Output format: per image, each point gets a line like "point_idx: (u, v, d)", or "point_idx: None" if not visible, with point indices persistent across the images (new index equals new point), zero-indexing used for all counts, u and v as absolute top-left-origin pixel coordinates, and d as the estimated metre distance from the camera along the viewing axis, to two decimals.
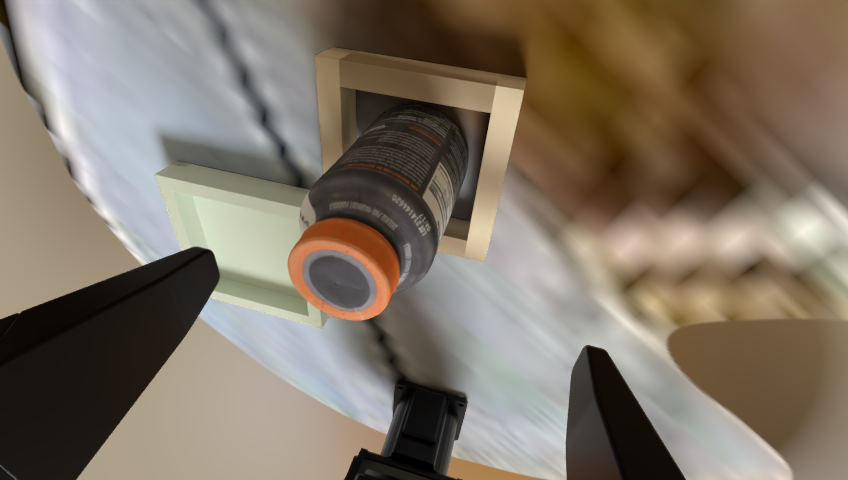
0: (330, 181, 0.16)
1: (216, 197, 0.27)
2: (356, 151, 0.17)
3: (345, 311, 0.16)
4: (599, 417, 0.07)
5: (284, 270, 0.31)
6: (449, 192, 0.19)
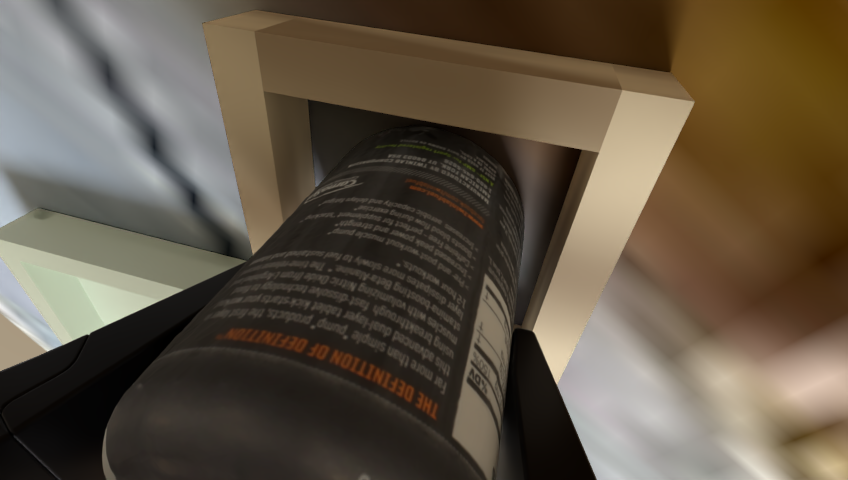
0: (154, 410, 0.05)
1: (87, 274, 0.16)
2: (270, 267, 0.07)
3: None
4: (513, 393, 0.07)
5: None
6: (507, 346, 0.08)
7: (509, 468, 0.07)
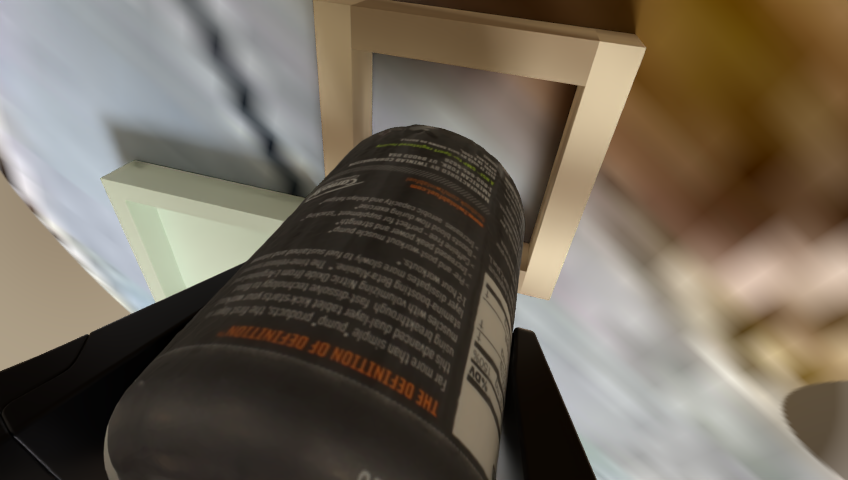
0: (155, 407, 0.05)
1: (182, 209, 0.20)
2: (271, 265, 0.07)
3: None
4: (513, 393, 0.07)
5: None
6: (508, 344, 0.08)
7: (509, 468, 0.07)
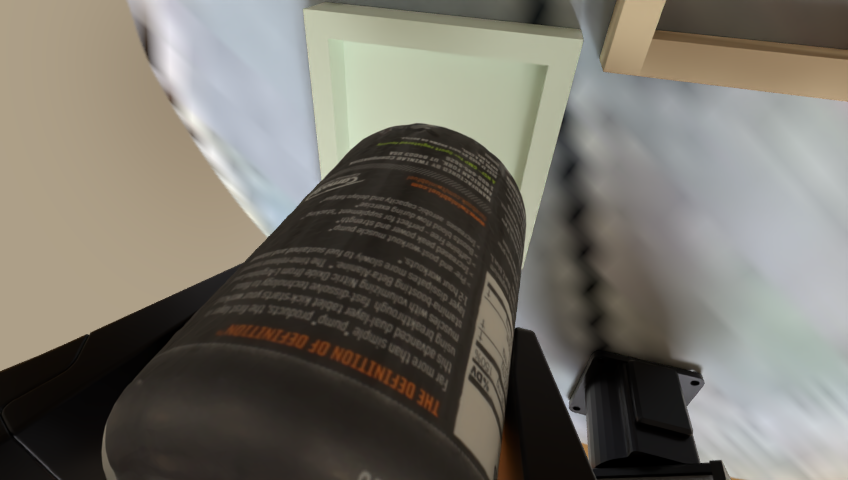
0: (154, 406, 0.05)
1: (406, 40, 0.16)
2: (271, 264, 0.06)
3: None
4: (513, 393, 0.07)
5: None
6: (509, 344, 0.08)
7: (509, 468, 0.07)
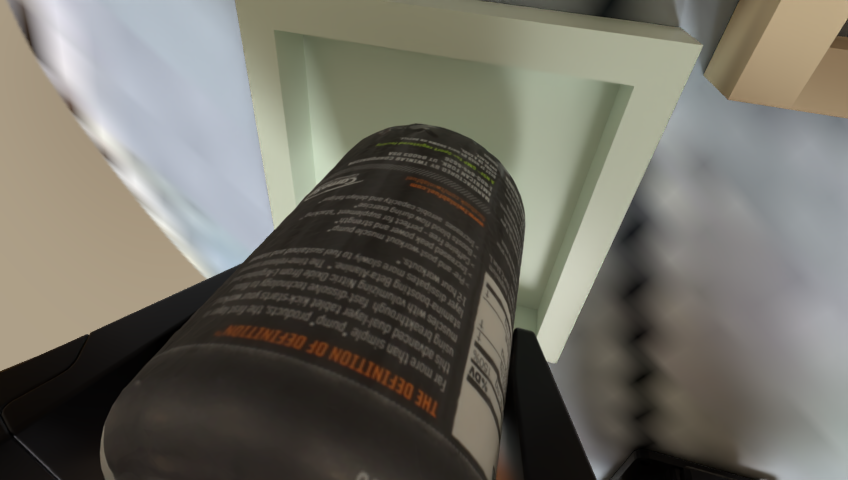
0: (152, 407, 0.05)
1: (398, 36, 0.10)
2: (270, 264, 0.06)
3: None
4: (513, 393, 0.07)
5: None
6: (508, 345, 0.08)
7: (509, 468, 0.07)
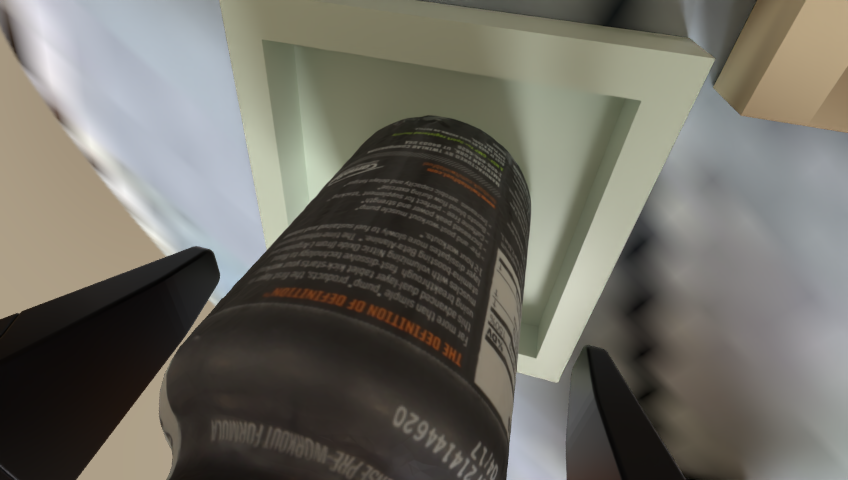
0: (214, 355, 0.05)
1: (392, 46, 0.10)
2: (305, 238, 0.07)
3: None
4: (599, 417, 0.07)
5: None
6: (519, 315, 0.08)
7: None
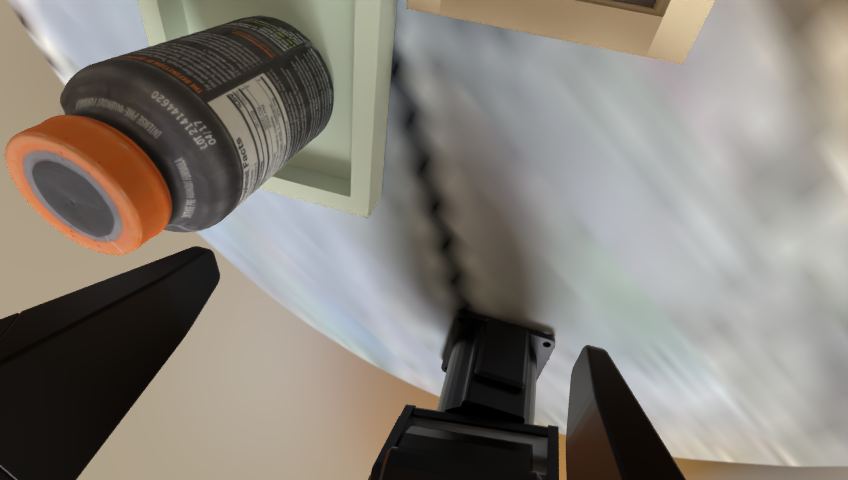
0: (79, 73, 0.12)
1: None
2: None
3: (98, 241, 0.12)
4: (599, 417, 0.07)
5: None
6: (274, 111, 0.15)
7: None
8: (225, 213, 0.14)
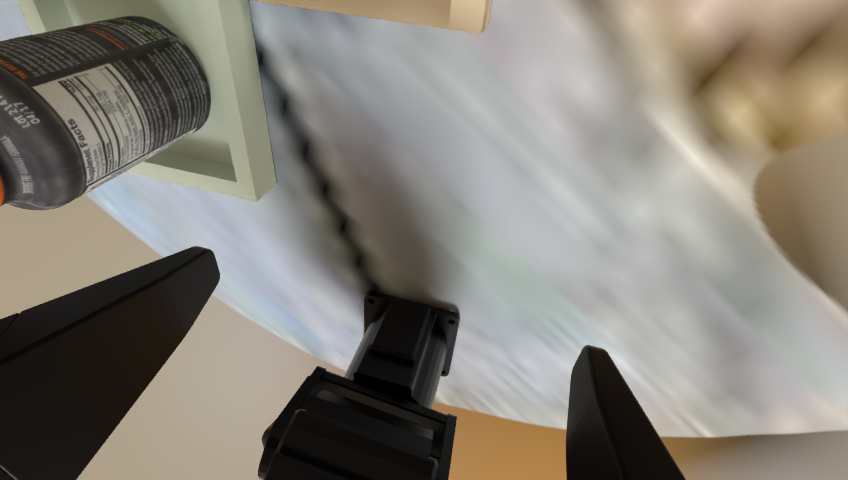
0: None
1: None
2: None
3: None
4: (599, 417, 0.07)
5: None
6: (121, 97, 0.17)
7: None
8: (70, 189, 0.16)
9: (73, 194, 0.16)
